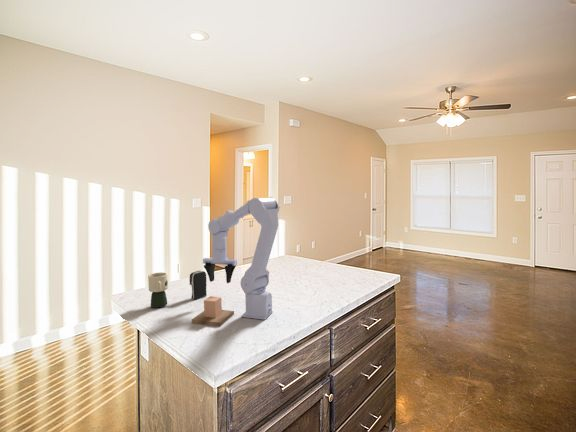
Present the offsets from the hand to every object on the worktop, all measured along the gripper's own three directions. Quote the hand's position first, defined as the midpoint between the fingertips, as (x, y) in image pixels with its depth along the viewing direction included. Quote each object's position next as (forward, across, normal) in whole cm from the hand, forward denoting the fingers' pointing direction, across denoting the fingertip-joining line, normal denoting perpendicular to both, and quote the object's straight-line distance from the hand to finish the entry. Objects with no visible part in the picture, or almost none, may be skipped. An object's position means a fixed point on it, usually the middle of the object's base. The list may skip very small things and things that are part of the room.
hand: (220, 281), depth 133 cm
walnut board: (+10, -5, +14) cm, 18 cm away
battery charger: (+10, +14, -5) cm, 18 cm away
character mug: (+10, +23, +9) cm, 26 cm away
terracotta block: (+8, -5, +14) cm, 17 cm away
